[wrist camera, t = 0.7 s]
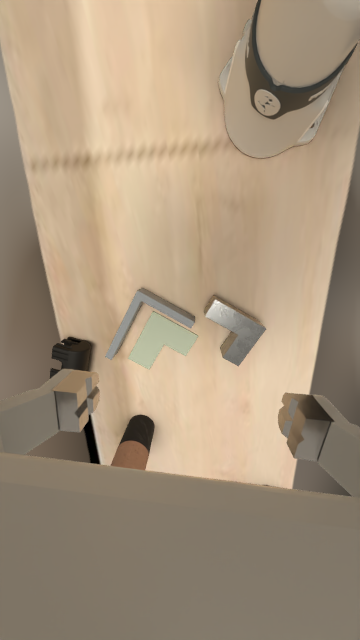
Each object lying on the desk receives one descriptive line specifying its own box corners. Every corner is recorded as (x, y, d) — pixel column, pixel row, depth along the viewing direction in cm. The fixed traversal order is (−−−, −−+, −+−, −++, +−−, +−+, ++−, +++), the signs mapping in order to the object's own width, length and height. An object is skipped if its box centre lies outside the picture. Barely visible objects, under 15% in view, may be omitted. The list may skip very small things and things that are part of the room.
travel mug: (150, 411, 57) (126, 490, 38) (159, 433, 59) (141, 519, 40) (124, 416, 58) (88, 495, 39) (134, 438, 60) (104, 523, 41)
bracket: (213, 295, 46) (215, 299, 41) (259, 321, 47) (266, 328, 42) (190, 331, 49) (190, 339, 44) (234, 355, 50) (238, 366, 45)
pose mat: (153, 311, 48) (153, 311, 48) (198, 335, 49) (198, 336, 49) (128, 357, 52) (128, 358, 52) (170, 379, 53) (170, 380, 53)
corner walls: (142, 287, 47) (137, 290, 43) (194, 316, 48) (194, 322, 44) (111, 349, 52) (105, 356, 48) (160, 374, 53) (157, 383, 49)
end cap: (91, 375, 55) (77, 391, 49) (65, 368, 55) (47, 383, 49) (96, 342, 52) (82, 354, 46) (69, 334, 52) (51, 345, 45)
